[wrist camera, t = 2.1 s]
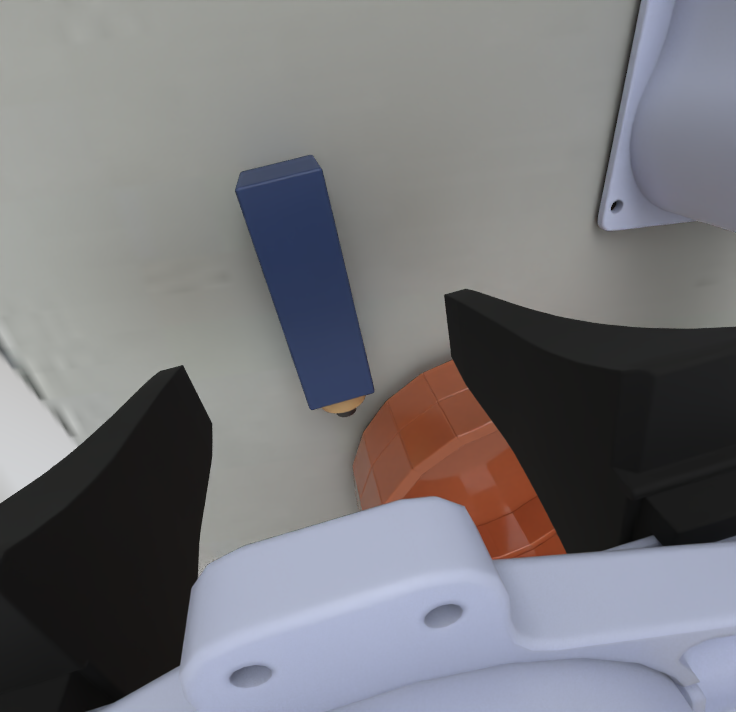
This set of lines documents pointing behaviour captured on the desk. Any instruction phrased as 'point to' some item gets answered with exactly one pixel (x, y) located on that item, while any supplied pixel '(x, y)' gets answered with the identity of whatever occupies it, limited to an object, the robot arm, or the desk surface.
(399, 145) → the desk surface
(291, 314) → the pencil
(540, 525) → the bowl
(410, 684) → the robot arm
